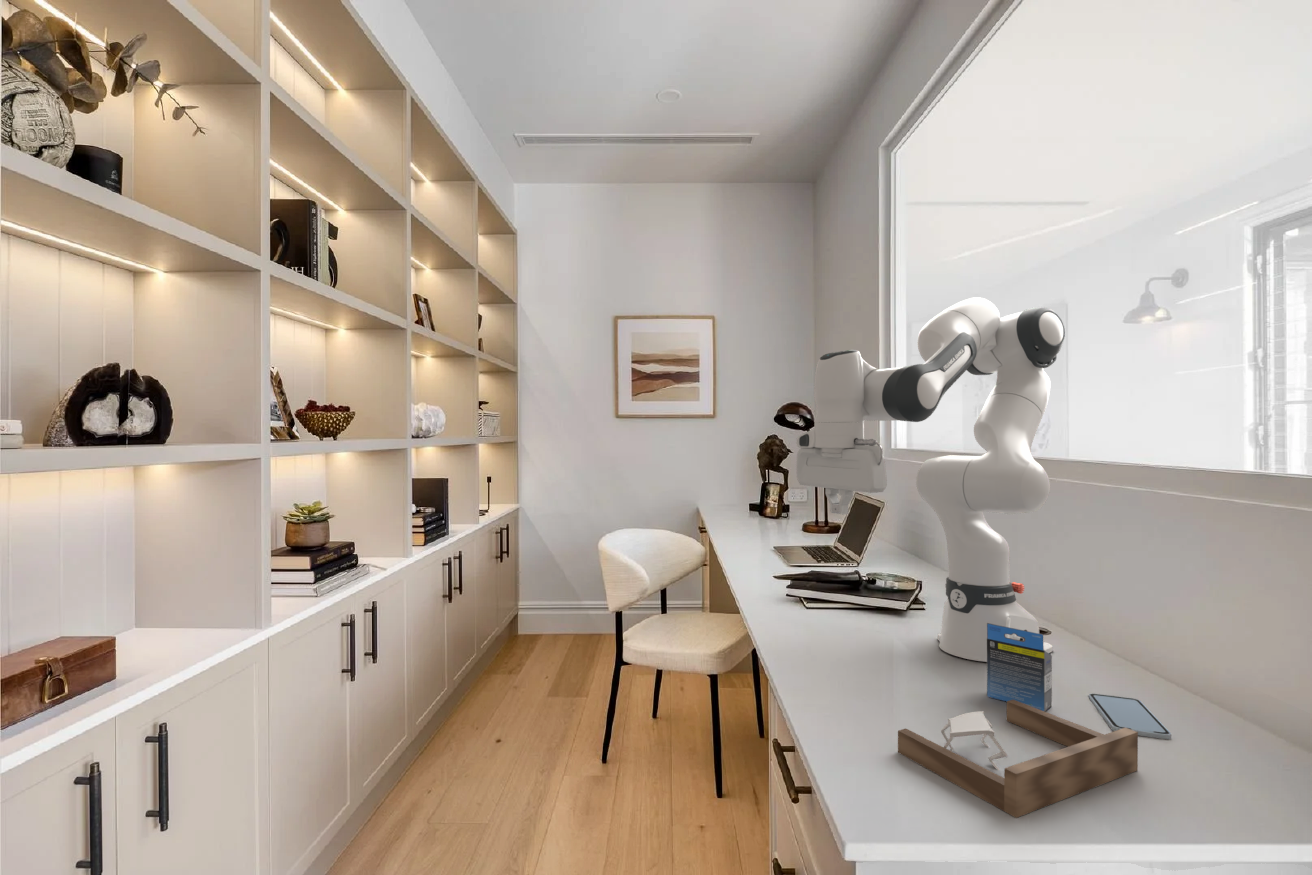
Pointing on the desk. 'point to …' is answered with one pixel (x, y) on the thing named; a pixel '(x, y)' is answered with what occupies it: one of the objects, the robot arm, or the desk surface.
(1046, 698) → the label tape cartridge
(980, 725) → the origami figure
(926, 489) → the robot arm
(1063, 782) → the walnut bay
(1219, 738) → the desk surface
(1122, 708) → the smartphone
